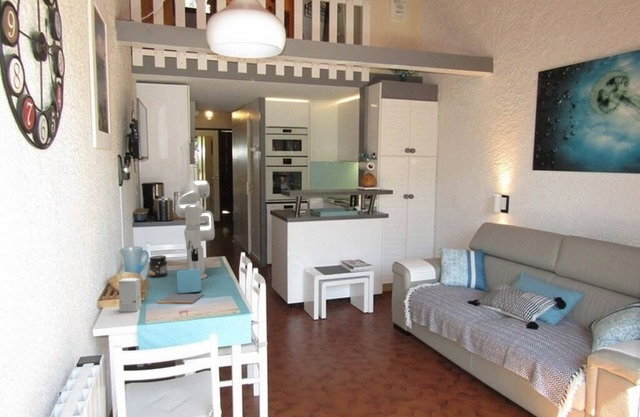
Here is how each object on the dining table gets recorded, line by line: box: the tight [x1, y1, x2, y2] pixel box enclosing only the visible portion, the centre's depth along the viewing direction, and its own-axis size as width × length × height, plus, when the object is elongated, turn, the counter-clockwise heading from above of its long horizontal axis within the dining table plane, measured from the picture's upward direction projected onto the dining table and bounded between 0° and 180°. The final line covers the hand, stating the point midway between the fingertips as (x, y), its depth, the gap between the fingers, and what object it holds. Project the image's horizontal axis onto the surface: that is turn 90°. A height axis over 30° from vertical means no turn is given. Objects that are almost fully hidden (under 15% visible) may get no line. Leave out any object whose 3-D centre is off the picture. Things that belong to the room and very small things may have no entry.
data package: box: [176, 269, 202, 294], centre depth 238 cm, size 12×4×12 cm, turn 109°
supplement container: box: [148, 254, 169, 279], centre depth 278 cm, size 10×10×12 cm
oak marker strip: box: [156, 300, 194, 305], centre depth 220 cm, size 1×18×1 cm, turn 83°
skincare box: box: [118, 277, 142, 313], centre depth 211 cm, size 8×6×15 cm
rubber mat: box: [159, 293, 205, 304], centre depth 227 cm, size 14×18×1 cm
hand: (195, 260), depth 244 cm, fingers closed
